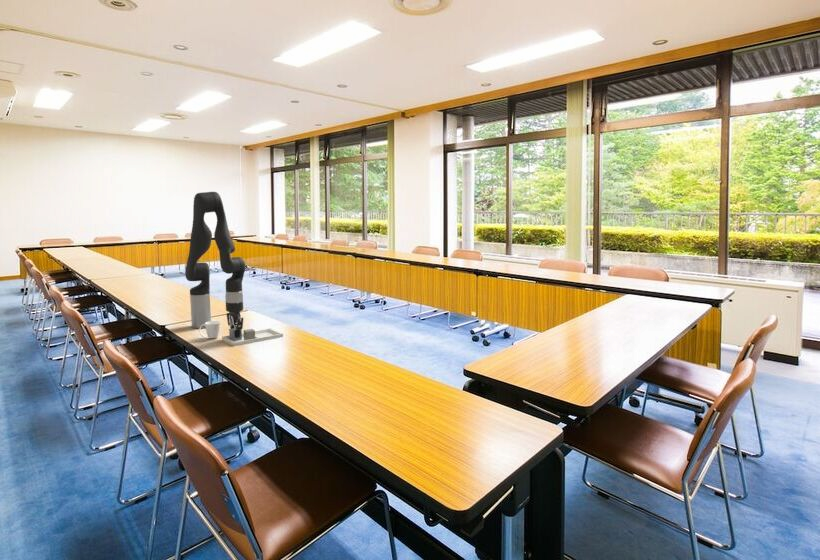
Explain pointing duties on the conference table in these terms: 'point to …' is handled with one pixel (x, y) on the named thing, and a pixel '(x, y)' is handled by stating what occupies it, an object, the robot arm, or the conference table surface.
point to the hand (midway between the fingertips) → (235, 336)
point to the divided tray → (259, 336)
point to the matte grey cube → (232, 334)
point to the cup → (211, 329)
